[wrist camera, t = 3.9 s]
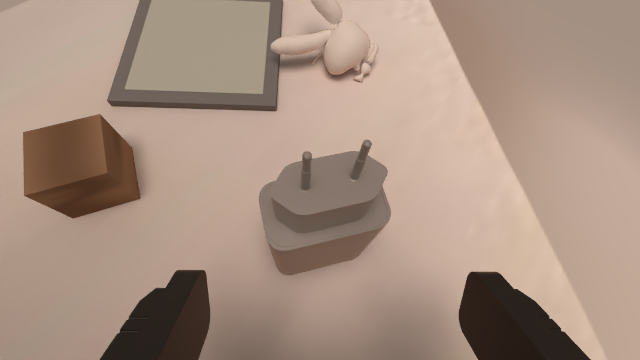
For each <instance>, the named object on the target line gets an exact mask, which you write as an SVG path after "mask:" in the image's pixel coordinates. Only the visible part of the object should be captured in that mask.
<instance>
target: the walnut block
mask: <svg viewBox="0 0 640 360" xmlns="http://www.w3.org/2000/svg"><path fill="white" fill-rule="evenodd" d="M23 151H24V196H26V197H28V198H30V199H33V200H35V201H37V202H39V203H41V204H43V205H46V206H48V207H50V208H52V209H54V210H56V211H58V212H61V213H63V214H65V215H67V216H69V217H71V218H76V217H80V216H83V215H86V214H90V213H93V212H97V211H100V210H103V209H107V208H110V207H114V206H117V205H120V204H124V203H127V202H131V201H134V200H137V199H140V194H139V188H138V182H137V176H136V169H135V163H134V157H133V151H132V147H131V146H130V145H129V144H128V143H127V142H126V141H125V140H124V139H123V138H122V137H121V136H120V135H119V134H118V133H117V131H116V130H115V129H114V128H113V127H112V126H111V125H110V124H109V123H108V122H107V121H106V120H105V119H104V118H103V117H102V116H101V115H100V114H98V115H94V116H90V117H86V118H82V119H77V120H73V121H69V122H65V123H61V124H56V125H52V126H48V127H44V128H40V129H35V130H31V131H27V132H23Z"/></svg>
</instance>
